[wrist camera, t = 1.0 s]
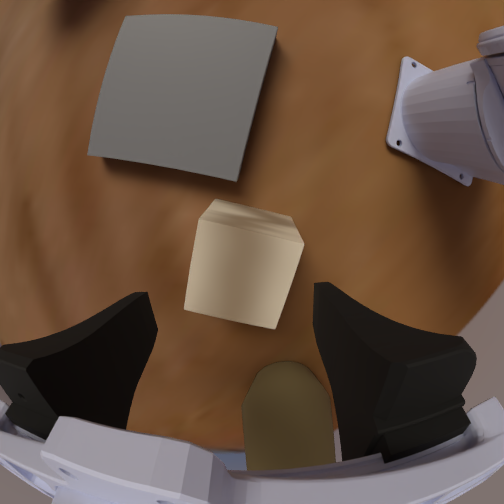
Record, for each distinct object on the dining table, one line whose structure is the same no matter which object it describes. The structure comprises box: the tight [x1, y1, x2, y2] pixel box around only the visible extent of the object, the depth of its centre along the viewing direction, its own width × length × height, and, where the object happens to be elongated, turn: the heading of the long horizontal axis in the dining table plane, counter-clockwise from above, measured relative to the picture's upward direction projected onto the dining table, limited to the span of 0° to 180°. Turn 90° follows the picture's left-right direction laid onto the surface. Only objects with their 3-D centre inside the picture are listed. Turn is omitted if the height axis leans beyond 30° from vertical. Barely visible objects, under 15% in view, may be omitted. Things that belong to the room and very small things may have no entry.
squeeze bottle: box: [242, 361, 336, 471], centre depth 17 cm, size 8×8×18 cm
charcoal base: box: [88, 14, 278, 182], centre depth 16 cm, size 11×11×2 cm
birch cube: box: [184, 199, 304, 329], centre depth 18 cm, size 6×6×6 cm
